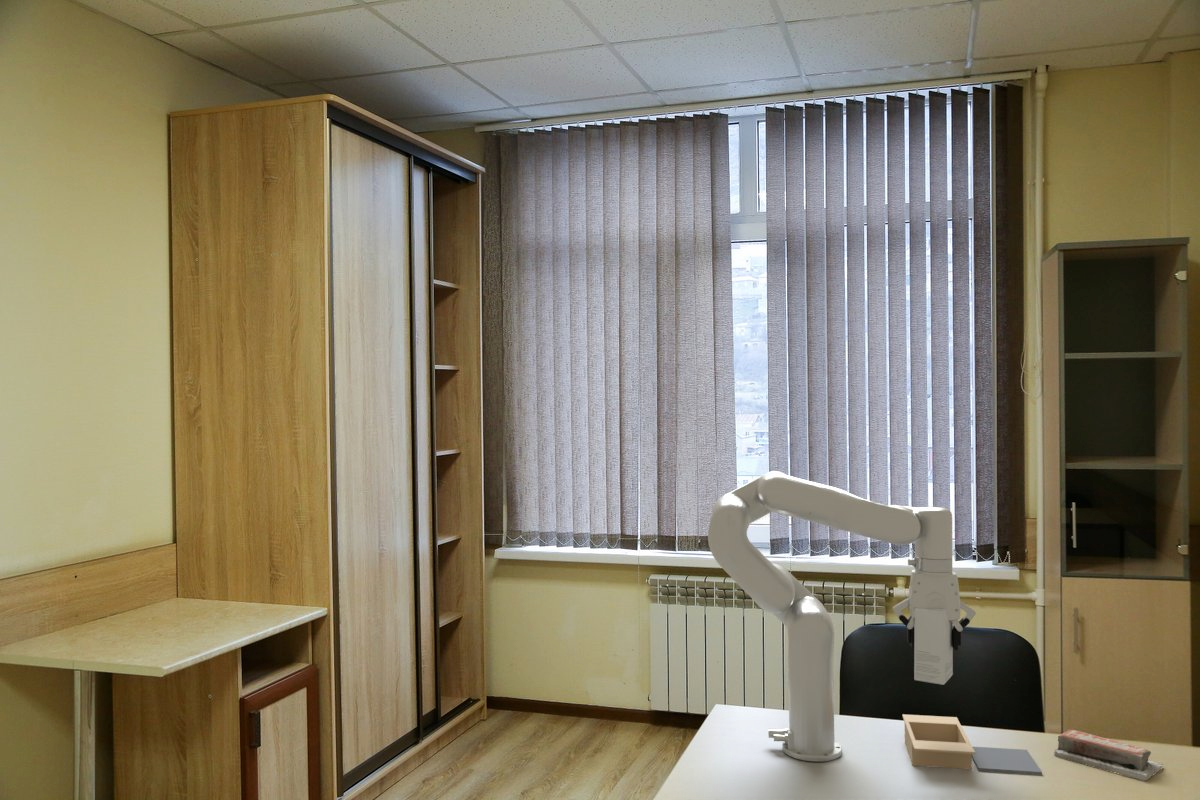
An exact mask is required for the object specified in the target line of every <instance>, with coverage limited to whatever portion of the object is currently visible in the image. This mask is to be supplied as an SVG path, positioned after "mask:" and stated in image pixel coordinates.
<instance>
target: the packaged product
mask: <svg viewBox="0 0 1200 800" xmlns="http://www.w3.org/2000/svg"><path fill="white" fill-rule="evenodd" d="M1057 742H1058V745H1057V749H1056V748H1055V749H1054V750H1053V756H1054V755H1055V756H1054V757H1057V756H1058V758H1060V757H1062V758H1061V759H1064V758H1065V759H1064V760H1068V759H1069V760H1068V761H1071V760H1072V761H1071V762H1074V761H1076V762H1075V763H1078V762H1079V764H1081V763H1083V764H1082V765H1085V764H1087V765H1086V766H1088V765H1090V766H1089V767H1092V766H1094V767H1093V768H1095V767H1097V768H1096V769H1099V768H1101V769H1100V770H1102V769H1105V770H1104V771H1106V770H1108V771H1107V772H1109V771H1112V772H1111V773H1113V772H1116V773H1115V774H1117V773H1119V774H1118V775H1120V774H1122V775H1121V776H1124V775H1126V776H1125V777H1128V776H1129V777H1128V778H1131V777H1133V778H1132V779H1135V778H1137V779H1136V780H1139V779H1141V780H1140V781H1143V780H1144V781H1143V782H1145V780H1146V781H1148V780H1149V779H1150V778H1152V777H1153V776H1154V775H1153V774H1155V773H1156V772H1158V771H1159V770H1160V769H1161V768H1162V767H1163V768H1164V763H1160V762H1155V761H1153V760H1149V758H1150V757H1151V754H1152V753H1151V750H1149V749H1145V748H1143V747H1139V746H1136V745H1132V744H1128V743H1124V742H1121V741H1117V740H1112V739H1109V738H1106V737H1101V736H1098V735H1094V734H1090V733H1087V732H1083V731H1079V730H1075V729H1067V731H1065V732H1063V733H1061V734H1059V735H1058V736H1057ZM1163 768H1162V769H1163ZM1162 769H1161V770H1162ZM1161 770H1160V771H1161ZM1160 771H1159V772H1160ZM1159 772H1158V773H1159ZM1156 774H1157V773H1156ZM1156 774H1155V775H1156ZM1152 775H1153V776H1152ZM1151 776H1152V777H1151ZM1148 778H1149V779H1148Z"/></svg>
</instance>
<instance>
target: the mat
mask: <svg viewBox="0 0 1200 800" xmlns="http://www.w3.org/2000/svg"><path fill="white" fill-rule="evenodd" d="M972 747H973V749H974V751H975V754H971V755H972V761H973V763H974V764H975V767H976V769H977V770H978V771H979V772H987V773H988V772H989V773H991V772H992V773H1006V774H1020V775H1022V774H1023V775H1034V776H1035V775H1038V776H1042V775H1043V771H1042V769H1041V768H1040V767H1039V765H1038V764H1037V763H1036V761H1035V759H1034V758H1033V757H1032V755H1031V754H1030V752H1029V750H1028V749H1024V748H1023V749H1020V748H1006V747H1005V748H1003V747H1002V748H1001V747H986V746H972Z"/></svg>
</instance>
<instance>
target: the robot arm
mask: <svg viewBox="0 0 1200 800" xmlns="http://www.w3.org/2000/svg"><path fill="white" fill-rule="evenodd" d="M771 513H776V514H780V515H784V516H787V517H792V518H797V519H800V520H804V521H808V522H812V523H814V524H818V525H822V526H825V527H826V526H827V527H829V528H832V529H836V530H840V531H844V532H848V533H852V534H855V535H859V536H862V537H866V538H869V539H873V540H876V541H881V542H885V543H887V544H892V545H896V546H907V545H908V546H909V545H910V544H913V543H914V557H913V558H911V559H909V558H908V559H907V566H911V567H913V568H914V569H912V570H911V574H910V578H909V579H910V580H909V587H908V597H907V598H905V599H904V600H901V601H900V602H899V603H897V604H895V605H893V606H892V611H893V612H894V614H895V615H896V616H897V618H898V620H899V621H900V622H901V623H902V624H903V625H904V626H905V627H906V628H907V629H906V642H907V644H909V646H910V647H911V649H914V628H915V609H914V608H928V609H946V610H947V613H948V621H951V622H952V623H953V629H952V647H953V650H954V651H959V646H961V645H962V632H963V630H964V629H965V627H967V626H968V625H969V624H970V622H971V621H972V620H973V619H974V617H975V616H976V614H977V612H976V611H975V610H974V609H973V608H972V607H970V606H969V605H967V604H966V603H964V602H963V601H961V595H960V586H959V585H960V584H959V579H958V574H957V572H955V571H953V514H952V512H951V510H950V509H948V508H946V507H940V506H923V507H916V506H914V507H913V506H907V505H899V504H889V505H885V504H883V503H879V502H874V501H871V500H868V499H865V498H862V497H859V496H856V495H855V494H852V493H849V492H848V491H846V490H843V489H841V488H837V487H834V486H831V485H827V484H823V483H819V482H815V481H810V480H807V479H803V478H798V477H795V476H792V475H787V474H786V473H784V472H783V471H778V470H772V471H767V472H766V473H764V474H762V475H760V476H758V477H756V478H755V479H753V480H751V481H750V482H748V483H746V484H743V485H741V486H740V487H738V488H736V489H734V490H732V491H730V492H728V493H725V494H724V495H722V496H721V497H719V498H718V499H717V500H716V502H715V503H714V505H713V506H712V509H711V516H710V520H709V525H708V529H707V530H708V531H707V541H708V546H709V550H710V553H711V554H712V557H713V559H714V560H715V562H716V563H717V564H718V565H719V567H721V568H722V569H723V570H724V571H725V572H726V574H727V575H729V577H731V579H732V580H733V581H734V582H735V583H736V584H737V585H738V586H739V587H740V588H741V589H742V590H743V591H744V592H745V593H746V594H747V595H748V596H749V597H750V598H751V599H752V601H754V602H755V604H756V605H757V606H758V607H759V608H761V609H762V610H764V612H767V613H771V614H772V615H774V617H776V618H777V619H778V620H779V621H780V623H782V624H783V625H784V626H785V627H786V629H787V635H788V637H787V639H788V640H787V641H788V644H787V645H788V648H787V650H788V655H787V659H788V660H787V664H788V665H787V666H788V668H787V670H788V674H787V677H788V723H789V724H787V728H784V727H783V728H782V729H777V728H768V738H769V739H773V742H782V751H783V753H785V754H786V755H788V757H791V758H794V759H797V760H800V761H805V762H817V763H819V762H820V763H821V762H830V761H833V760H837V759H838V758H839V757H841V756H842V754H843V748H842V745H841V744H840V743H839V742H837V741H835V698H834V697H835V695H834V693H835V691H834V690H835V689H834V685H835V684H834V681H835V680H834V652H835V651H834V649H835V628H834V623H833V620H832V619H831V616H830V614H829V613H828V611H827V609H826V607H825V606H824V605H823V603H822V602H821V601H820V600H819V599H818V598H817V597H816V596H814V594H813V593H812V592H810V591H809V589H807V588H806V587H805V586H804V585H803V584H802V583H801V582H800V581H799V580H798V578H796V577H795V576H794V575H793V573H791V572H790V571H788V569H786V568H784V566H782V565H780V564H777V563H773V562H771V561H770V560H769V559H768V558H767V556H765V555H764V554H763V553H762V552H761V551H760V550H759V549H758V548H757V547H756V546H755V545H754V544H753V543H752V542H751V541H750V540H749V537H748V529H749V526H750V525H751V524H752V523H754V522H756V521H757V520H760V519H761V518H763V517H765V516H767V515H769V514H771ZM907 607H908V608H907ZM906 608H907V609H908V613H909V614H910V615H909V616H908V618H907V617H906V616H905V615H904V614H903V612H902V611H903V610H905V609H906ZM961 611H964V612H965V615H964V616H963V617H962V618H961ZM960 618H961V619H960Z"/></svg>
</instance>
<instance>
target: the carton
mask: <svg viewBox="0 0 1200 800" xmlns="http://www.w3.org/2000/svg"><path fill="white" fill-rule="evenodd" d="M902 719H903V723H904V745H905V748H906V751H907V754H908V755H909V759H910V762H911V766H914V767H915V766H916V767H918V766H919V767H929V768H930V767H931V768H932V767H933V768H947V769H960V770H961V769H964V770H972V768H973V765H972V763H973V762H972V761H973V759H972V755H971V754H975V751H974V749H973V747H974V746H973V745H972V744H971V741H970V739H969V738H968V736H967V733H966V732H965V730H964V728H963V726H962V725H961V723H960V721H959V718H958V717H957V716H942V715H941V716H939V715H938V716H937V715H922V714H921V715H920V714H904V713H903V714H902Z"/></svg>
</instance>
